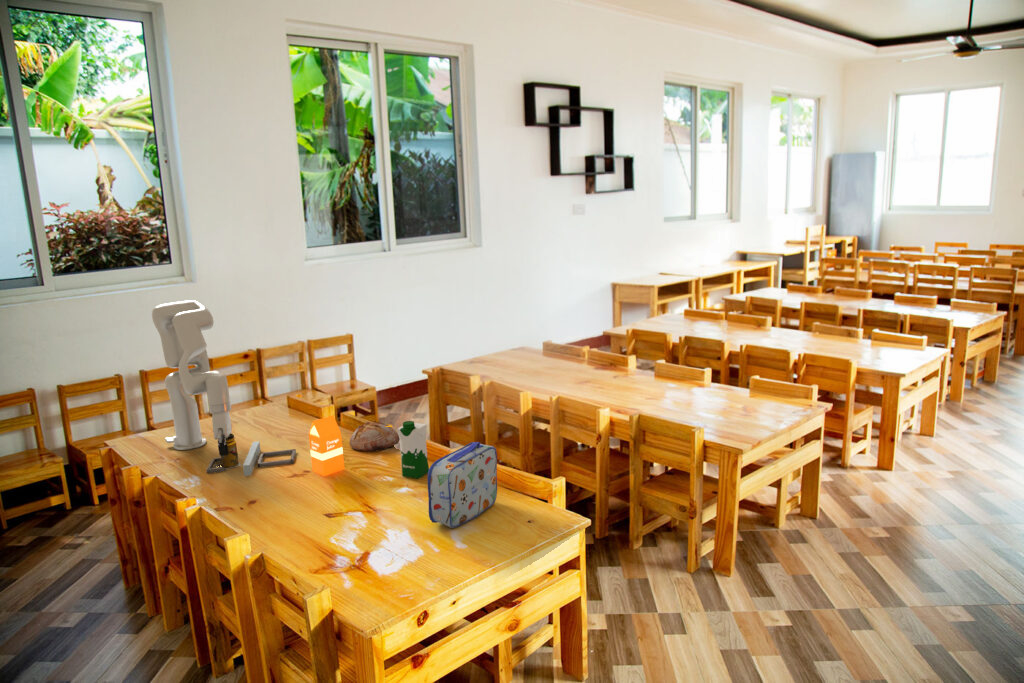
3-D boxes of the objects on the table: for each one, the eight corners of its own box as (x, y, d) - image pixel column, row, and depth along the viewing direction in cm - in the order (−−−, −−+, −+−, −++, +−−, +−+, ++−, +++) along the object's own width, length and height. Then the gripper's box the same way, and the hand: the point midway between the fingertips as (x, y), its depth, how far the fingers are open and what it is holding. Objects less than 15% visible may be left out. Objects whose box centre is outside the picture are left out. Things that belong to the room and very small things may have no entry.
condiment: (241, 465, 271) (237, 435, 268) (218, 471, 266) (214, 441, 264) (237, 460, 277) (233, 430, 274) (214, 465, 272) (210, 435, 270)
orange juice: (344, 468, 263) (339, 417, 259) (324, 476, 257) (318, 423, 253) (332, 464, 268) (327, 413, 264) (312, 471, 262) (306, 419, 258)
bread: (347, 445, 290) (344, 421, 289) (394, 437, 298) (392, 413, 296) (354, 456, 275) (351, 431, 274) (404, 447, 283) (401, 422, 281)
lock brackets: (206, 473, 265) (206, 469, 264) (213, 461, 276) (212, 458, 276) (293, 463, 271) (292, 459, 270) (296, 452, 282) (295, 448, 282)
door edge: (244, 476, 261) (242, 465, 260) (254, 451, 286) (253, 441, 285) (251, 475, 261) (249, 464, 260) (260, 450, 286) (259, 441, 285)
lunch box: (477, 494, 236) (474, 431, 231) (504, 500, 230) (501, 435, 226) (425, 529, 213) (420, 460, 209) (453, 536, 208) (448, 465, 203)
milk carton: (398, 477, 253) (394, 423, 249) (412, 467, 261) (408, 415, 257) (419, 480, 249) (415, 426, 245) (433, 470, 257) (429, 418, 253)
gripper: (214, 402, 274) (220, 444, 278) (204, 415, 258) (211, 459, 261) (234, 400, 276) (240, 442, 279) (226, 412, 259) (233, 457, 262)
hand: (226, 450), depth 270 cm, fingers open, 9 cm apart
